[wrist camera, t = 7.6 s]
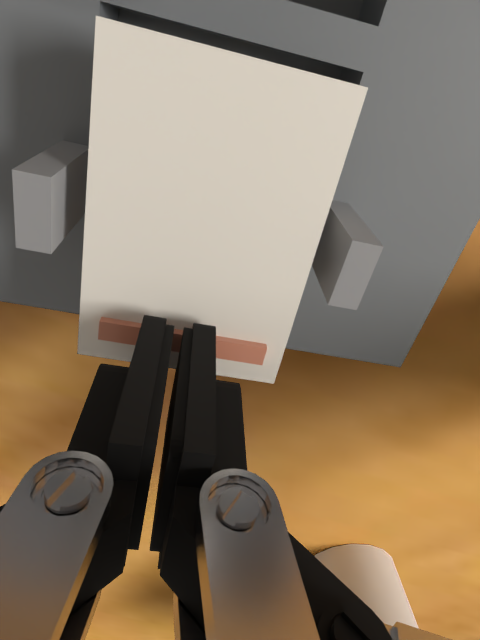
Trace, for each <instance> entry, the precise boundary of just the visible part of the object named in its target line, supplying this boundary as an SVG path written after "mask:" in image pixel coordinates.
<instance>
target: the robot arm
mask: <svg viewBox="0 0 480 640" xmlns="http://www.w3.org/2000/svg"><path fill="white" fill-rule="evenodd" d="M166 321H167V318H161V317H155V316H149V315H144V317H143V320H142V324H141V327H140V331H139V335H138V338H137V342H136V345H135V349H134V352H133V356H132V360H131V363H130V367H122V366H115V365H108V364H101V365H100V366H99V368H98V370H97V373H96V376H95V378H94V381H93V384H92V386H91V389H90V392H89V394H88V397H87V399H86V402H85V405H84V407H83V410H82V413H81V415H80V418H79V421H78V423H77V426H76V429H75V431H74V434H73V436H72V439H71V442H70V444H69V447H68V450H67V451H66V452H59V453H56V454H53V455H51V456H48V457H45V458H44V459H42V460H41V461H39V462H38V463H36V464H35V465H33V467H32V468H31V469H30V470H29V471H28V472H27V473H26V474H25V476H24V477H23V479H22V480H21V482H20V483H19V485H18V486H17V488H16V489H15V491H14V492H13V494H12V495H11V497H10V498H9V500H8V502H7V503H6V504H4V505H2V506H1V507H0V640H85V638H86V635H87V633H88V630H89V627H90V624H91V621H92V619H93V616H94V613H95V610H96V607H97V605H98V602H99V599H100V595H101V590H102V588H104V587H105V586H106V585H108V584H109V583H110V582H111V581H113V580H114V579H115V578H116V577H118V576H119V575H120V574H122V573H123V568H124V566H125V561H126V556H127V550H128V549H134V550H138V549H139V543H140V538H141V532H142V526H143V520H144V515H145V509H146V503H147V497H148V491H149V486H150V480H151V474H152V468H153V463H154V457H155V451H156V445H157V438H158V432H159V425H160V419H161V412H162V406H163V399H164V393H165V386H166V380H167V373H168V366H169V360H170V353H171V347H172V340H173V334H174V327H175V326H173V325H167V324H166ZM150 551H159V552H160V553H159V562H158V569H160V576H161V577H162V578H163V580H164V581H165V582H166V583H167V585H168V586H169V587H170V588H171V589H172V591H173V592H174V594H173V614H174V632H175V640H451V639H448V638H445V637H442V636H439V635H436V634H433V633H430V632H427V631H424V630H421V629H418V628H415V627H412V626H409V625H406V624H403V623H400V622H396V623H395V624H394V626H391V625H388V624H385V623H383V622H382V621H381V620H380V618H379V617H378V616H377V615H376V614H375V613H374V612H373V610H372V609H371V608H370V607H368V606H367V605H366V604H365V603H364V602H363V601H362V600H361V599H360V598H359V597H358V596H357V595H355V594H354V593H353V592H352V591H351V590H350V589H349V588H348V587H347V586H346V585H345V584H344V583H343V582H341V581H340V580H339V579H338V578H337V577H336V576H335V575H334V574H333V573H332V572H331V571H330V570H329V569H327V568H326V567H325V566H324V565H323V564H322V563H321V562H320V561H319V560H318V559H317V558H316V557H315V556H313V555H312V554H311V553H310V552H309V551H308V550H307V549H306V548H305V547H304V546H303V545H302V544H301V543H299V542H298V541H297V540H296V539H295V538H294V537H293V536H292V535H291V534H290V533H289V532H288V531H287V527H286V524H285V521H284V517H283V514H282V511H281V507H280V504H279V501H278V499H277V496H276V494H275V492H274V490H273V489H272V488H271V487H270V485H269V484H268V483H267V482H266V481H265V480H263V479H262V478H261V477H259V476H258V475H256V474H254V473H252V472H249V471H247V463H246V450H245V437H244V424H243V411H242V398H241V387H240V384H239V383H234V382H227V381H220V380H216V326H211V325H204V324H198V323H193V327H192V328H186V327H184V329H183V335H182V340H181V346H180V351H179V356H178V362H177V367H176V373H175V378H174V384H173V389H172V395H171V400H170V406H169V411H168V417H167V424H166V432H165V439H164V447H163V454H162V461H161V469H160V476H159V484H158V491H157V499H156V506H155V514H154V521H153V529H152V536H151V544H150Z"/></svg>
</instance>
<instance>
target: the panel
mask: <svg viewBox="0 0 480 640" xmlns="http://www.w3.org/2000/svg"><path fill="white" fill-rule="evenodd" d="M96 16H100V17H103V18H107V19H111V20H115V21H119V22H122V23H126V24H130V25H134V26H137V27H141V28H145V29H149V30H153V31H156V32H160V33H164V34H168V35H171V36H175V37H179V38H183V39H187V40H190V41H194V42H198V43H202V44H205V45H209V46H213V47H217V48H221V49H224V50H228V51H232V52H236V53H239V54H243V55H247V56H251V57H255V58H258V59H262V60H266V61H270V62H273V63H277V64H281V65H285V66H289V67H292V68H296V69H300V70H304V71H307V72H311V73H315V74H319V75H323V76H326V77H330V78H334V79H338V80H341V81H345V82H349V83H353V84H357V85H360V86H364V87H368V90H367V93H366V97H365V100H364V103H363V106H362V109H361V112H360V115H359V118H358V122H357V125H356V128H355V131H354V134H353V137H352V140H351V144H350V147H349V150H348V153H347V156H346V159H345V162H344V166H343V169H342V172H341V175H340V178H339V181H338V184H337V187H336V191H335V194H334V197H333V200H332V203H331V206H330V209H329V213H328V216H327V219H326V222H325V225H324V228H323V231H322V235H321V238H320V241H319V244H318V247H317V250H316V253H315V256H314V260H313V263H312V266H311V269H310V272H309V275H308V278H307V282H306V285H305V288H304V291H303V294H302V297H301V300H300V304H299V307H298V310H297V313H296V316H295V319H294V322H293V326H292V329H291V332H290V335H289V338H288V341H287V344H286V347H285V348H287V349H293V350H299V351H305V352H311V353H317V354H323V355H329V356H335V357H341V358H347V359H353V360H359V361H365V362H371V363H377V364H384V365H390V366H396V367H401V365H402V363H403V362H404V360H405V358H406V356H407V354H408V352H409V350H410V348H411V346H412V345H413V343H414V341H415V339H416V337H417V335H418V333H419V331H420V330H421V328H422V326H423V324H424V322H425V320H426V318H427V316H428V315H429V313H430V311H431V309H432V307H433V305H434V303H435V301H436V299H437V298H438V296H439V294H440V292H441V290H442V288H443V286H444V284H445V283H446V281H447V279H448V277H449V275H450V273H451V271H452V269H453V268H454V266H455V264H456V262H457V260H458V258H459V256H460V254H461V252H462V251H463V249H464V247H465V245H466V243H467V241H468V239H469V237H470V236H471V234H472V232H473V230H474V228H475V226H476V224H477V222H478V220H479V219H480V0H0V301H3V302H9V303H15V304H21V305H27V306H33V307H39V308H45V309H51V310H57V311H63V312H69V313H75V314H80V297H81V278H82V260H83V241H84V223H85V205H86V186H87V168H88V149H89V131H90V113H91V94H92V76H93V58H94V39H95V21H96Z"/></svg>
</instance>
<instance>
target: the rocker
mask: <svg viewBox="0 0 480 640" xmlns="http://www.w3.org/2000/svg"><path fill="white" fill-rule="evenodd" d="M367 90H368V87H364V86H360V85H357V84H353V83H349V82H345V81H341V80H338V79H334V78H330V77H326V76H323V75H319V74H315V73H311V72H307V71H304V70H300V69H296V68H292V67H289V66H285V65H281V64H277V63H273V62H270V61H266V60H262V59H258V58H255V57H251V56H247V55H243V54H239V53H236V52H232V51H228V50H224V49H221V48H217V47H213V46H209V45H205V44H202V43H198V42H194V41H190V40H187V39H183V38H179V37H175V36H171V35H168V34H164V33H160V32H156V31H153V30H149V29H145V28H141V27H137V26H134V25H130V24H126V23H122V22H119V21H115V20H111V19H107V18H103V17H100V16H96V21H95V39H94V58H93V76H92V94H91V113H90V131H89V149H88V168H87V186H86V205H85V223H84V241H83V260H82V278H81V297H80V315H79V333H78V352H77V354H82V355H88V356H95V357H102V358H108V359H115V360H121V361H128V362H131V360H132V356H133V352H134V349H135V345H136V342H137V338H138V335H139V331H140V327H141V324H142V320H143V317H144V315H149V316H155V317H161V318H167V321H166V324H167V325H173V326H175V327H174V334H173V340H172V347H171V353H170V360H169V366H168V368H174V369H176V367H177V362H178V356H179V351H180V346H181V340H182V335H183V329H184V327H186V328H192V327H193V323H198V324H204V325H211V326H216V375H220V376H226V377H233V378H239V379H246V380H253V381H259V382H266V383H272V384H274V382H275V379H276V376H277V373H278V369H279V366H280V363H281V360H282V357H283V354H284V351H285V347H286V344H287V341H288V338H289V335H290V332H291V329H292V326H293V322H294V319H295V316H296V313H297V310H298V307H299V304H300V300H301V297H302V294H303V291H304V288H305V285H306V282H307V278H308V275H309V272H310V269H311V266H312V263H313V260H314V256H315V253H316V250H317V247H318V244H319V241H320V238H321V235H322V231H323V228H324V225H325V222H326V219H327V216H328V213H329V209H330V206H331V203H332V200H333V197H334V194H335V191H336V187H337V184H338V181H339V178H340V175H341V172H342V169H343V166H344V162H345V159H346V156H347V153H348V150H349V147H350V144H351V140H352V137H353V134H354V131H355V128H356V125H357V122H358V118H359V115H360V112H361V109H362V106H363V103H364V100H365V97H366V93H367Z"/></svg>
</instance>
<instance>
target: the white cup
mask: <svg viewBox="0 0 480 640" xmlns="http://www.w3.org/2000/svg"><path fill="white" fill-rule="evenodd" d="M315 557H316V558H317V559H318V560H319V561H320V562H321V563H322V564H323V565H324V566H325V567H326V568H327V569H329V570H330V571H331V572H332V573H333V574H334V575H335V576H336V577H337V578H338V579H339V580H340V581H341V582H343V583H344V584H345V585H346V586H347V587H348V588H349V589H350V590H351V591H352V592H353V593H354V594H355V595H357V596H358V597H359V598H360V599H361V600H362V601H363V602H364V603H365V604H366V605H367V606H368V607H370V608H371V609H372V610H373V612H374V613H375V614H376V615H377V616H378V617H379V618H380V620H381V621H382V622H383V623H385V624H388V625H391V626H394V624H395V623H396V622H400V623H403V624H406V625H409V626H412V627H415V628H418V625H417V623H416V620H415V617H414V615H413V612H412V609H411V607H410V604H409V601H408V599H407V596H406V594H405V591H404V588H403V586H402V583H401V580H400V578H399V575H398V572H397V570H396V567H395V565H394V562H393V559H392V557H391V556H390V555H389V554H388V553H387V552H386V551H385V550H384V549H381V548H378V547H375V546H372V545H366V544H347V545H342V546H336V547H332V548H329V549H327V550H325V551H322V552H320V553H318V554H316V555H315ZM418 629H419V628H418Z"/></svg>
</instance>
